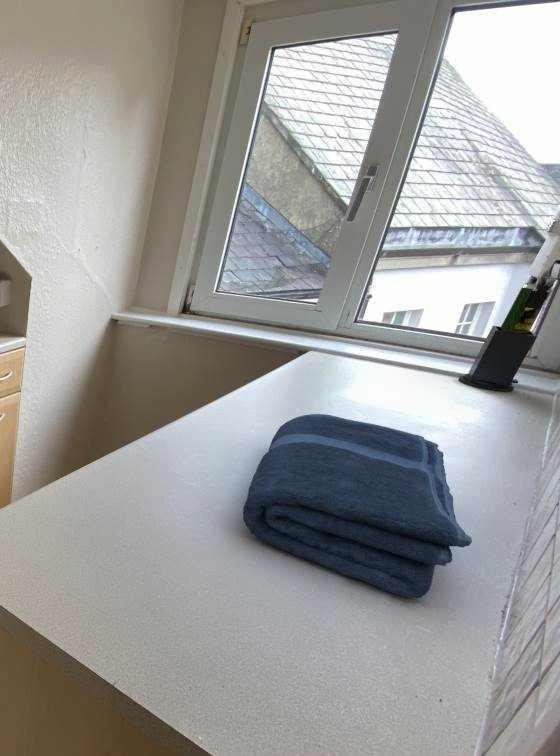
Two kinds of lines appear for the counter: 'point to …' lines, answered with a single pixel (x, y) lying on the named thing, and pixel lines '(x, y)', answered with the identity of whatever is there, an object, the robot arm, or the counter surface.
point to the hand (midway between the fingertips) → (528, 305)
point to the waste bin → (500, 358)
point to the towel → (356, 501)
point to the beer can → (521, 313)
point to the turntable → (485, 386)
